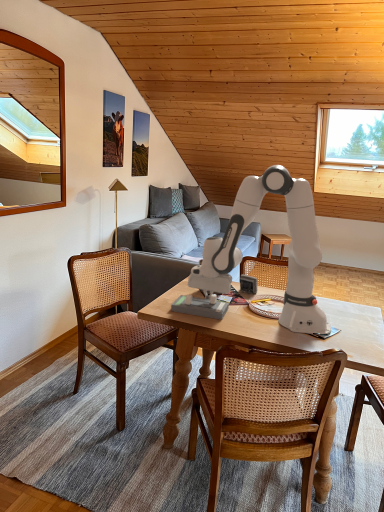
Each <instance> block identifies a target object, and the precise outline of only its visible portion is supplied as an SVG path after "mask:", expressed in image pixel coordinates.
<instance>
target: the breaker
mask: <svg viewBox="0 0 384 512" xmlns="http://www.w3.org/2000/svg"><path fill="white" fill-rule="evenodd" d="M185 296H186V299H185V304H188V305H190V304H191V303H192V297H193V295H191V294H187V295H185Z"/></svg>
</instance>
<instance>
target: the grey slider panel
mask: <svg viewBox="0 0 384 512" xmlns="http://www.w3.org/2000/svg"><path fill="white" fill-rule="evenodd" d="M186 296H187V295H183V294H180V296H178V297H177V299H175V300H174V301H173V302H172V303H171V305H170V307H171V308H170V312H176V313H181V314H188V315H193V316H196V317H197V316H198V317H204V318H209V319H215V320H220V321H222V320H223V319H224V317H225V315H226V313H227V312H228V310H229V306H230V305H229V304H230V303H229V302H224V301H221V300H220V301H219V300H216V303H215V304H212V303H210V300H209V299H205V298H202V297H195V296H192V303H191V304H190V305H188V304H185V299H186Z"/></svg>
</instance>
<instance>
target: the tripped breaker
mask: <svg viewBox="0 0 384 512" xmlns="http://www.w3.org/2000/svg"><path fill="white" fill-rule="evenodd" d="M217 296H218V295H214V294H212V295H211V296H210V303H212V304H215V303H216V301H217V298H218V297H217Z"/></svg>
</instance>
